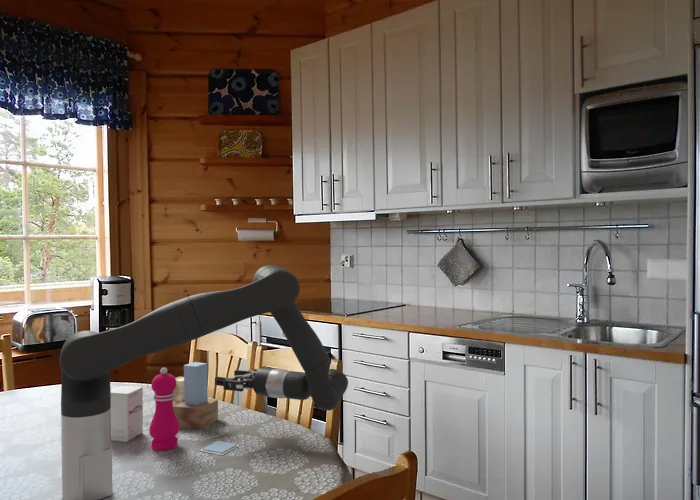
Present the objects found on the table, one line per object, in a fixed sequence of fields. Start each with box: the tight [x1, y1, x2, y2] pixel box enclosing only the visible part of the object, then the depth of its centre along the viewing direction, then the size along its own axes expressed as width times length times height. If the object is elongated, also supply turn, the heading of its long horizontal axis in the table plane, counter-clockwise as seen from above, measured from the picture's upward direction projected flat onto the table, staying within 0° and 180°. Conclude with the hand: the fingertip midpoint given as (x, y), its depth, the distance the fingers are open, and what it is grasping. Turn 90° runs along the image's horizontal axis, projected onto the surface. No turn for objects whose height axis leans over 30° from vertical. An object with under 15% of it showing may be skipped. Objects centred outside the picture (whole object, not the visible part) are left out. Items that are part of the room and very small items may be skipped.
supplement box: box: [111, 385, 144, 443], centre depth 150 cm, size 7×7×13 cm
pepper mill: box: [149, 367, 180, 452], centre depth 142 cm, size 7×7×20 cm
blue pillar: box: [183, 361, 209, 406], centre depth 161 cm, size 4×4×11 cm
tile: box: [199, 440, 240, 456], centre depth 141 cm, size 7×7×1 cm
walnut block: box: [173, 398, 219, 430], centre depth 161 cm, size 9×9×6 cm
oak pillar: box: [173, 376, 185, 406], centre depth 168 cm, size 4×4×11 cm
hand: (225, 377), depth 156 cm, fingers open, 8 cm apart
